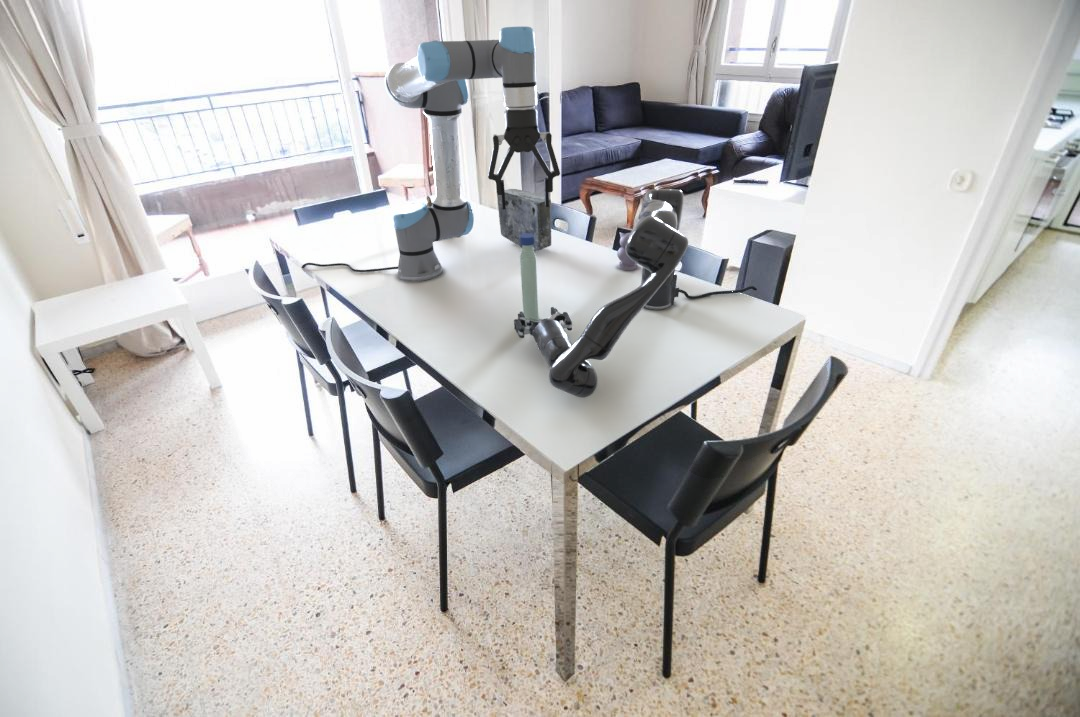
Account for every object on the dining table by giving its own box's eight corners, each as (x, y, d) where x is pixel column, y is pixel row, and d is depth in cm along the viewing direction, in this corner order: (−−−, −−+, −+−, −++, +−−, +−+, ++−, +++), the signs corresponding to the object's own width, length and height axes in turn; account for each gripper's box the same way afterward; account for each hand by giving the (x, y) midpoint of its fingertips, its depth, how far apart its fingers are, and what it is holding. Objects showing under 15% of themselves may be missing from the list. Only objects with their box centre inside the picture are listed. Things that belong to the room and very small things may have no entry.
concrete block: (556, 252, 190) (555, 199, 179) (537, 257, 186) (535, 203, 175) (517, 236, 209) (515, 187, 198) (500, 240, 204) (496, 190, 194)
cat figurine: (645, 266, 174) (647, 232, 168) (632, 273, 170) (634, 238, 163) (624, 261, 180) (626, 228, 173) (611, 267, 175) (613, 233, 168)
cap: (530, 246, 127) (530, 238, 126) (517, 244, 129) (516, 236, 128) (537, 241, 130) (537, 234, 129) (524, 240, 132) (523, 232, 131)
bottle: (534, 326, 139) (530, 240, 126) (521, 323, 141) (516, 238, 128) (541, 320, 142) (537, 235, 129) (527, 317, 144) (523, 233, 131)
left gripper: (567, 104, 117) (568, 200, 128) (471, 108, 116) (480, 205, 127) (572, 107, 110) (572, 208, 122) (470, 111, 109) (480, 213, 121)
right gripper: (581, 322, 119) (561, 295, 132) (523, 331, 116) (509, 303, 129) (580, 349, 123) (562, 321, 136) (524, 359, 120) (511, 328, 133)
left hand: (525, 206), depth 125 cm, fingers open, 10 cm apart
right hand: (536, 312), depth 133 cm, fingers open, 8 cm apart
